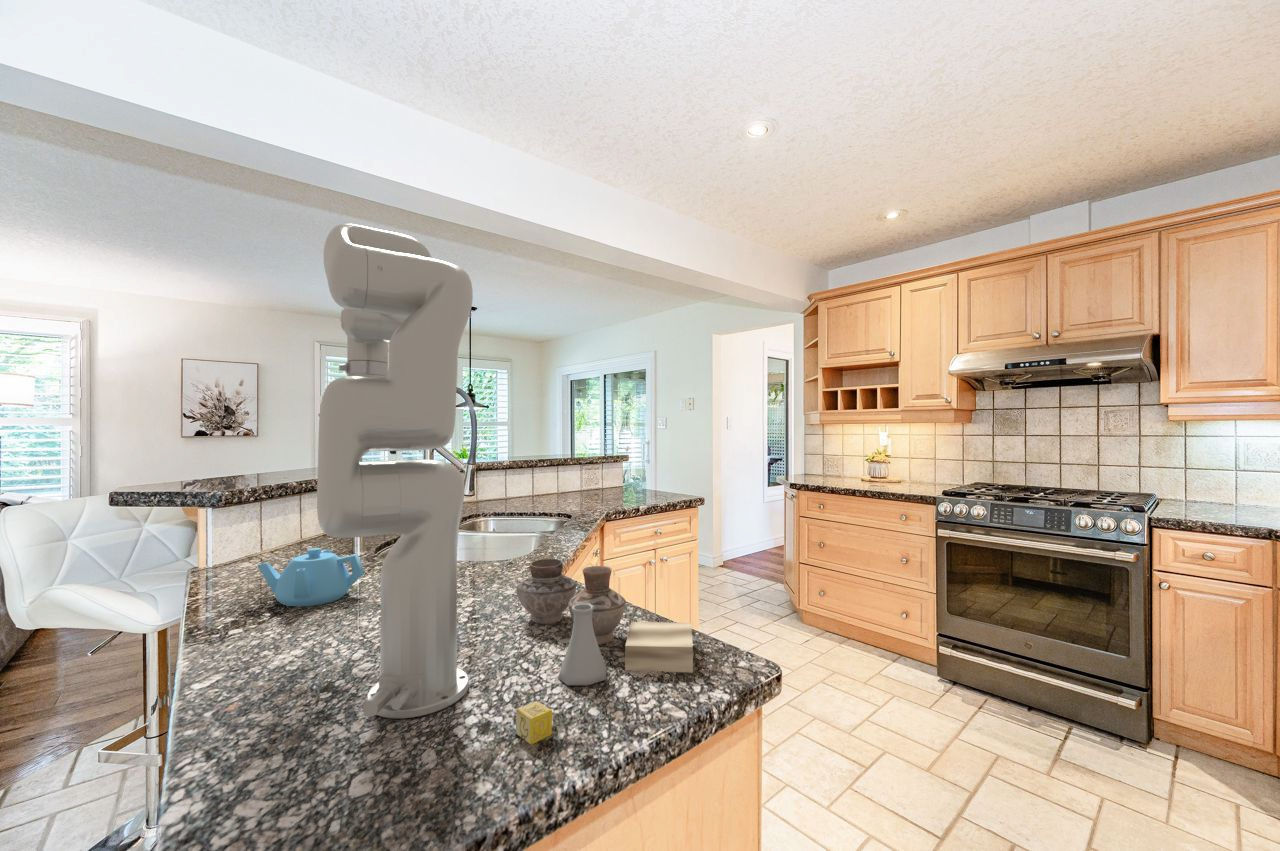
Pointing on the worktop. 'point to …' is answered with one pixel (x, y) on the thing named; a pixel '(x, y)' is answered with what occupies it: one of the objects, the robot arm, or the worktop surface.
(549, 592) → the pottery
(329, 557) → the teapot
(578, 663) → the flask
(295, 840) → the worktop surface
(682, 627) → the maple block
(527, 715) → the alphabet block
